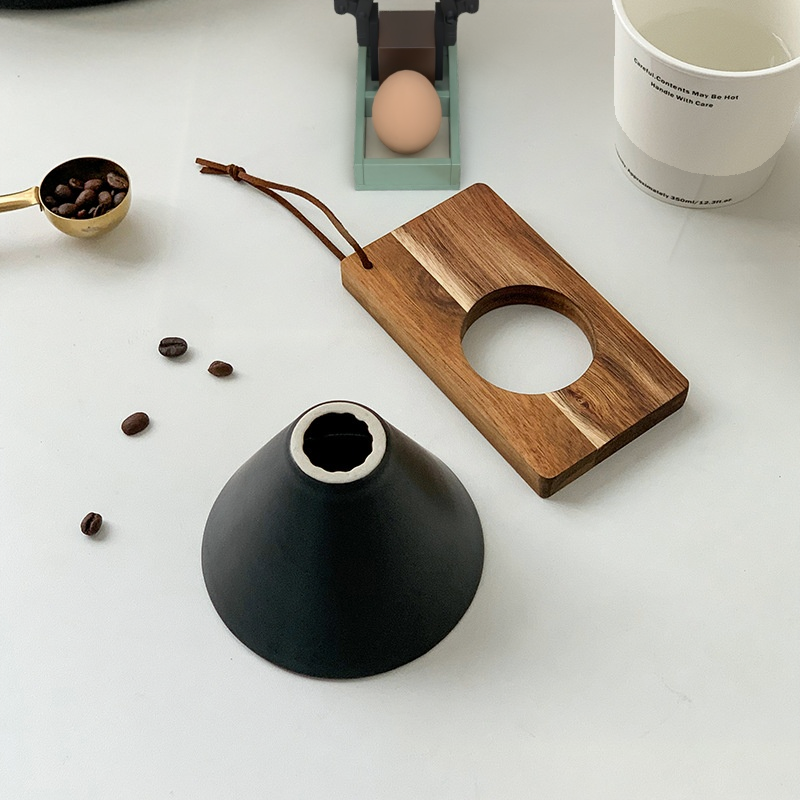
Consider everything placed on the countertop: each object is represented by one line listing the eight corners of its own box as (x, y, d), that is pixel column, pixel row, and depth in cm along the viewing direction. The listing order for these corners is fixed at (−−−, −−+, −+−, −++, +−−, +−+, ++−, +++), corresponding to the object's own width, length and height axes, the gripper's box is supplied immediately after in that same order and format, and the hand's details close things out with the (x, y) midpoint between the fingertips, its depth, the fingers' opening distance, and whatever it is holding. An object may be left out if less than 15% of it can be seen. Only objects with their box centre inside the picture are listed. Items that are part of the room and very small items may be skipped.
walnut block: (434, 54, 111) (434, 10, 107) (434, 91, 108) (435, 47, 104) (380, 54, 111) (378, 10, 107) (379, 91, 108) (377, 47, 104)
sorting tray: (455, 55, 113) (456, 28, 111) (459, 189, 104) (460, 164, 101) (360, 55, 114) (358, 29, 111) (355, 190, 104) (353, 164, 101)
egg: (451, 133, 106) (453, 63, 100) (424, 178, 103) (425, 109, 97) (390, 114, 108) (388, 44, 101) (361, 158, 105) (358, 89, 98)
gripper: (282, -142, 88) (306, 99, 107) (528, -143, 88) (507, 98, 107) (288, -199, 92) (310, 43, 111) (522, -200, 92) (504, 42, 111)
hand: (407, 70), depth 109 cm, fingers closed on walnut block, 5 cm apart
